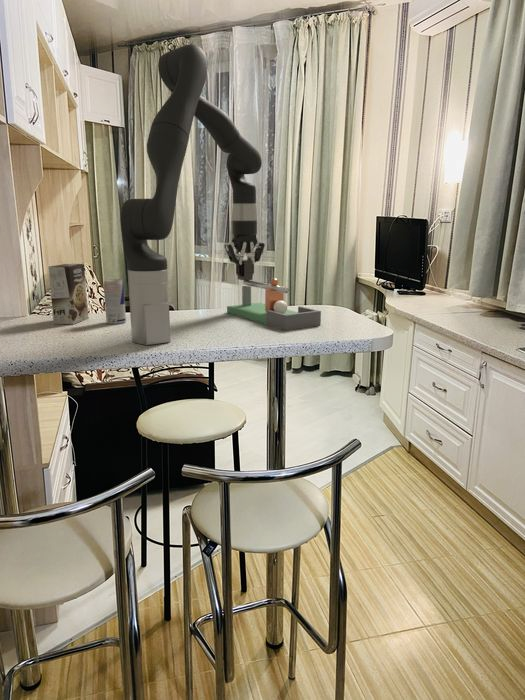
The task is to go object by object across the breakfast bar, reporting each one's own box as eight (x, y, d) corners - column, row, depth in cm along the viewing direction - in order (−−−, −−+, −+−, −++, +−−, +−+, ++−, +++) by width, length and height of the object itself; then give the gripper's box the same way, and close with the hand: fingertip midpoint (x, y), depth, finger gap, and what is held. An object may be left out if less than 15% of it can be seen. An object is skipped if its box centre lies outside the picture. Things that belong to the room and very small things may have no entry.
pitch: (320, 325, 145) (321, 296, 143) (285, 330, 139) (286, 300, 137) (259, 308, 170) (259, 284, 168) (227, 312, 163) (226, 286, 161)
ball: (283, 314, 152) (291, 312, 149) (272, 316, 150) (280, 313, 147) (281, 301, 152) (288, 298, 149) (269, 302, 150) (277, 299, 147)
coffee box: (74, 324, 145) (68, 266, 141) (52, 324, 146) (46, 266, 142) (89, 318, 154) (85, 263, 150) (69, 317, 155) (64, 263, 151)
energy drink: (128, 320, 151) (126, 279, 148) (122, 324, 146) (119, 281, 143) (110, 320, 151) (107, 279, 148) (103, 324, 146) (100, 281, 143)
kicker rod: (293, 313, 149) (294, 265, 145) (279, 315, 146) (279, 266, 143) (248, 301, 168) (248, 259, 165) (235, 303, 165) (234, 260, 162)
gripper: (231, 219, 152) (232, 279, 156) (270, 219, 159) (270, 275, 164) (218, 219, 158) (219, 276, 162) (257, 218, 165) (257, 273, 170)
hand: (245, 275), depth 163 cm, fingers closed on kicker rod, 3 cm apart
